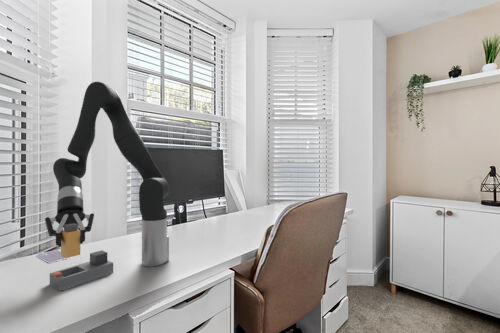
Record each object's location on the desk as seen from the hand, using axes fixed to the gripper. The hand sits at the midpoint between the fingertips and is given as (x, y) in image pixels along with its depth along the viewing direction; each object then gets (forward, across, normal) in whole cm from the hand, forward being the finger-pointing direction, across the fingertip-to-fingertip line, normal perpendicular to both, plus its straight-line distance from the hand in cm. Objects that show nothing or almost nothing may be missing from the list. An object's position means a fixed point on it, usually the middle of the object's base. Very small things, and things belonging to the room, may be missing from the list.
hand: (70, 243), depth 81 cm
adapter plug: (+2, 0, +4) cm, 5 cm away
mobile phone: (-14, -5, +33) cm, 37 cm away
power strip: (+7, +4, +11) cm, 14 cm away
